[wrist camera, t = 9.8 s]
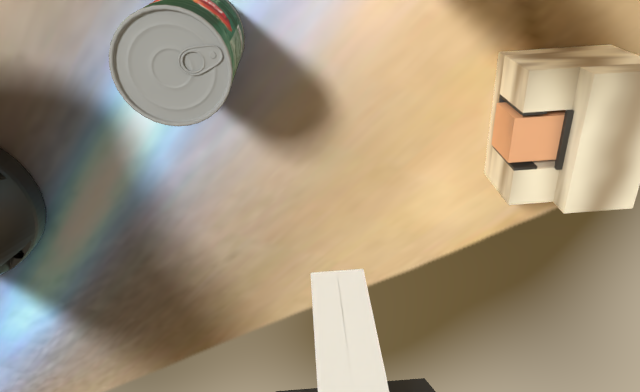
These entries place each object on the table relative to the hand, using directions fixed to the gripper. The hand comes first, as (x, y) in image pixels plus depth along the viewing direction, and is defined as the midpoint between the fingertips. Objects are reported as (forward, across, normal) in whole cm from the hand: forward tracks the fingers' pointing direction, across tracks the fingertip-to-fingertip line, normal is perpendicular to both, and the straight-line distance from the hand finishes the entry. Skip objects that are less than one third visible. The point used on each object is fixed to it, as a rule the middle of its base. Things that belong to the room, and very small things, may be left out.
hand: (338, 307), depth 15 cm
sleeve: (+32, +22, -7) cm, 40 cm away
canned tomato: (+33, -9, +2) cm, 34 cm away
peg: (+30, +22, -7) cm, 38 cm away
